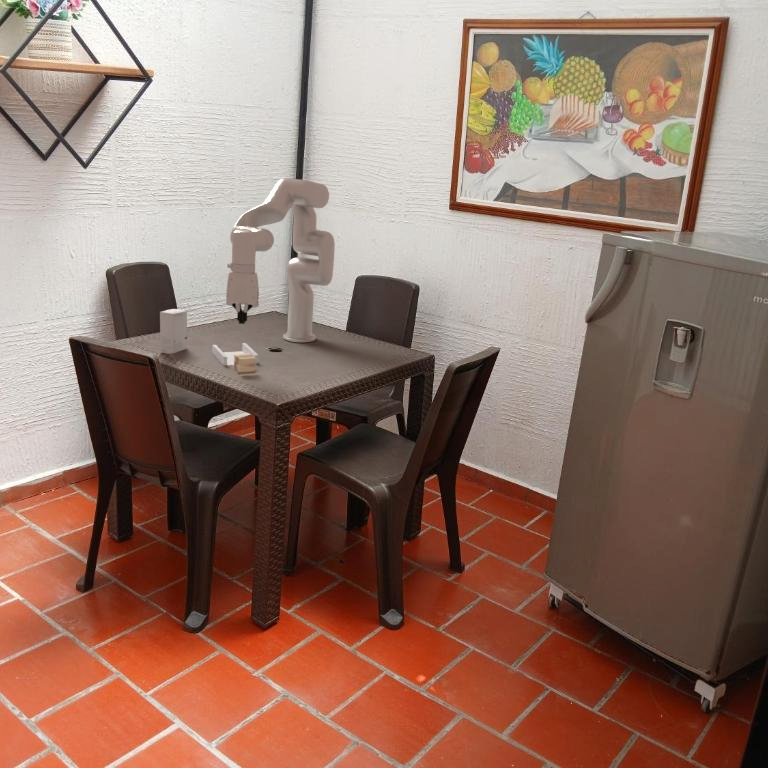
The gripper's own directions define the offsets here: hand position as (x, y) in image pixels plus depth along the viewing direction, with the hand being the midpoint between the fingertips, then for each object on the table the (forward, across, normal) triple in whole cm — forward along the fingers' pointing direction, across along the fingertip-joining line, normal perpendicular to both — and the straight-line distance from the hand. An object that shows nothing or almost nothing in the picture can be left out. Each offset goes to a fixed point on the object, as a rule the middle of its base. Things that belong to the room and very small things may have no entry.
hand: (242, 323), depth 268 cm
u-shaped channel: (+16, -4, +8) cm, 18 cm away
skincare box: (+16, -26, +13) cm, 33 cm away
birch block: (+16, +2, -4) cm, 16 cm away
